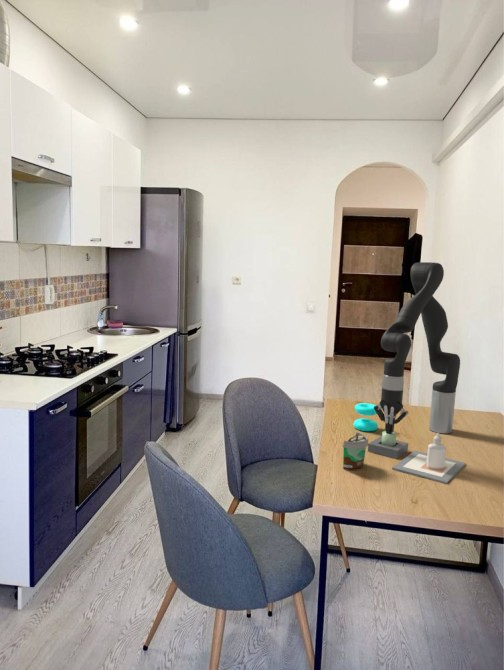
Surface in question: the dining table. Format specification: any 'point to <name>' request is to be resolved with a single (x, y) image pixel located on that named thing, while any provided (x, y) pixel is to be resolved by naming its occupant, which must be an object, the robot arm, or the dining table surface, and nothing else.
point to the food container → (354, 452)
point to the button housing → (388, 448)
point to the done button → (388, 439)
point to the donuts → (364, 423)
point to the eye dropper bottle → (436, 454)
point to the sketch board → (418, 467)
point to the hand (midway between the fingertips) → (389, 433)
